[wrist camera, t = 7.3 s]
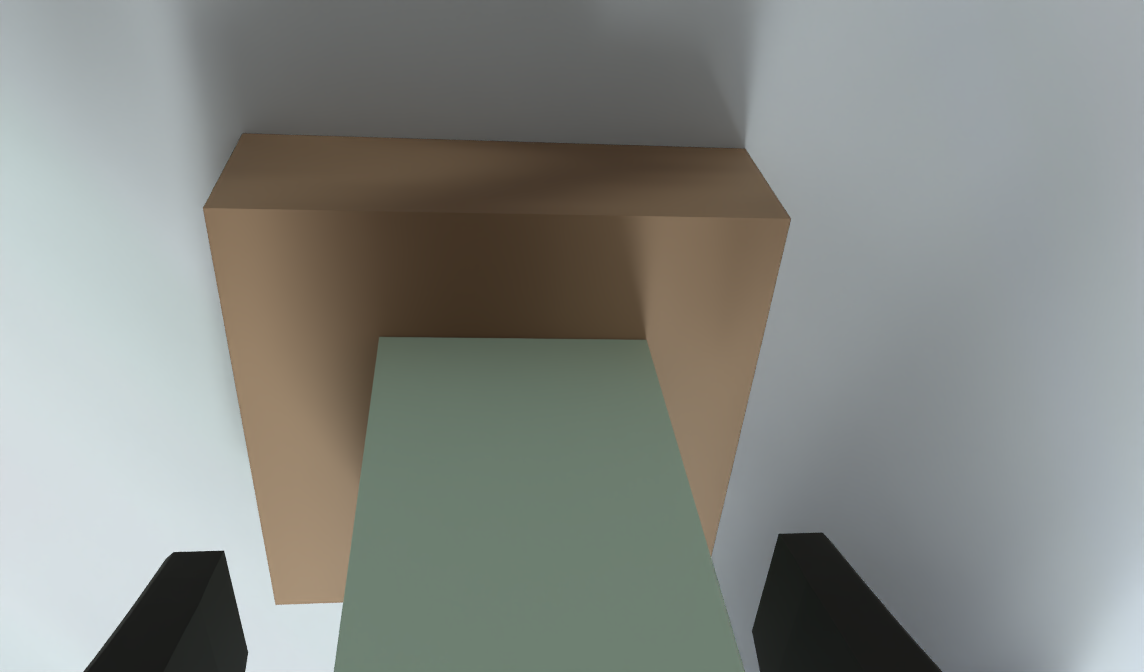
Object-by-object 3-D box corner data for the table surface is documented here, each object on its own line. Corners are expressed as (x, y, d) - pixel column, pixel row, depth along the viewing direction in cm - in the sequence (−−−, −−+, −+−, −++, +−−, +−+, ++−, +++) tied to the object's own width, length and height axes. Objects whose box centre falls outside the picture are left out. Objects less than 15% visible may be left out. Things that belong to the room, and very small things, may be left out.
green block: (646, 339, 13) (751, 692, 9) (616, 524, 16) (686, 886, 11) (379, 336, 13) (327, 711, 8) (388, 527, 15) (353, 910, 10)
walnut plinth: (737, 136, 15) (790, 219, 13) (673, 480, 20) (703, 590, 17) (248, 122, 14) (202, 207, 12) (300, 487, 19) (275, 604, 16)
